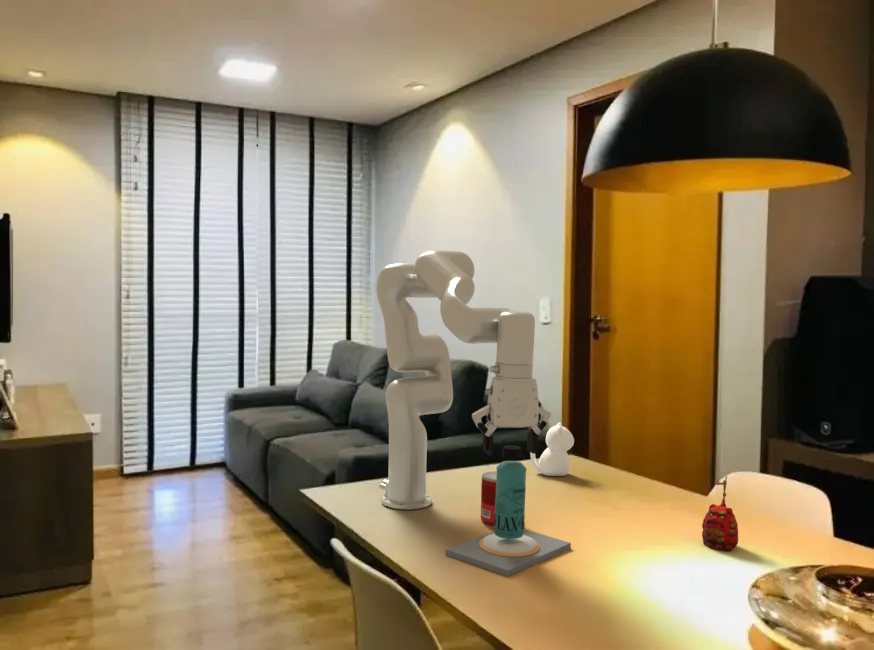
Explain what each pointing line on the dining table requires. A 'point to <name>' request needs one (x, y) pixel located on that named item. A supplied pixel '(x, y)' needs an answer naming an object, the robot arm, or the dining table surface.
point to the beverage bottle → (510, 495)
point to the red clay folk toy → (720, 525)
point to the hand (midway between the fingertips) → (510, 452)
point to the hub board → (508, 551)
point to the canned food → (488, 497)
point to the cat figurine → (555, 452)
